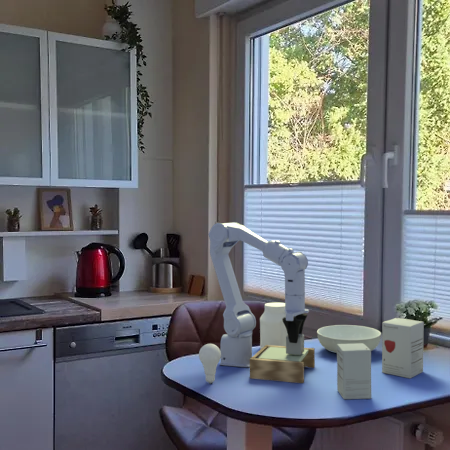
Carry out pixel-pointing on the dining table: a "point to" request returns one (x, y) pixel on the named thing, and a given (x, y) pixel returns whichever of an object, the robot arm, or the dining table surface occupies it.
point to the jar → (273, 325)
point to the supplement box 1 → (354, 371)
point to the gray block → (295, 345)
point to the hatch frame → (280, 367)
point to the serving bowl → (348, 336)
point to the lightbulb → (209, 360)
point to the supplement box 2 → (402, 347)
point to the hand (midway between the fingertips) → (295, 340)
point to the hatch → (281, 354)
